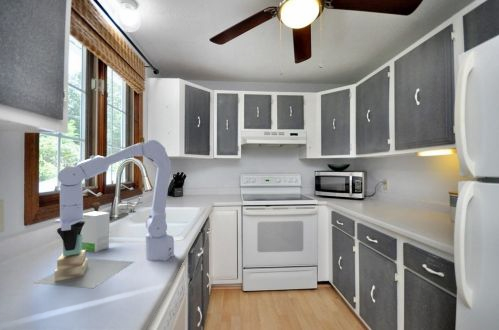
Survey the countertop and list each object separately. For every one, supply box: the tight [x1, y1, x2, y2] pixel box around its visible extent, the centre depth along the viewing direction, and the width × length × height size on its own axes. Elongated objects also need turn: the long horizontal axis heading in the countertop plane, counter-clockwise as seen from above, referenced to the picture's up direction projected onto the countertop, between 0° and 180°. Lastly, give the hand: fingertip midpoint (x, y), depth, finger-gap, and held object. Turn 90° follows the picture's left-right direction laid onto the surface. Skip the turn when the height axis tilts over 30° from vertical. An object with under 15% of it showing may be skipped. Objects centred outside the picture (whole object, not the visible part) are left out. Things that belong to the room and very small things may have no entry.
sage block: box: [62, 233, 82, 256], centre depth 70 cm, size 4×4×5 cm
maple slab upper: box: [56, 250, 87, 270], centre depth 70 cm, size 6×6×3 cm
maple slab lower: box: [54, 257, 89, 281], centre depth 70 cm, size 7×7×3 cm
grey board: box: [33, 258, 135, 289], centre depth 71 cm, size 20×17×1 cm
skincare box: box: [80, 210, 111, 253], centre depth 92 cm, size 8×7×16 cm
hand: (72, 247), depth 70 cm, fingers closed on sage block, 4 cm apart
